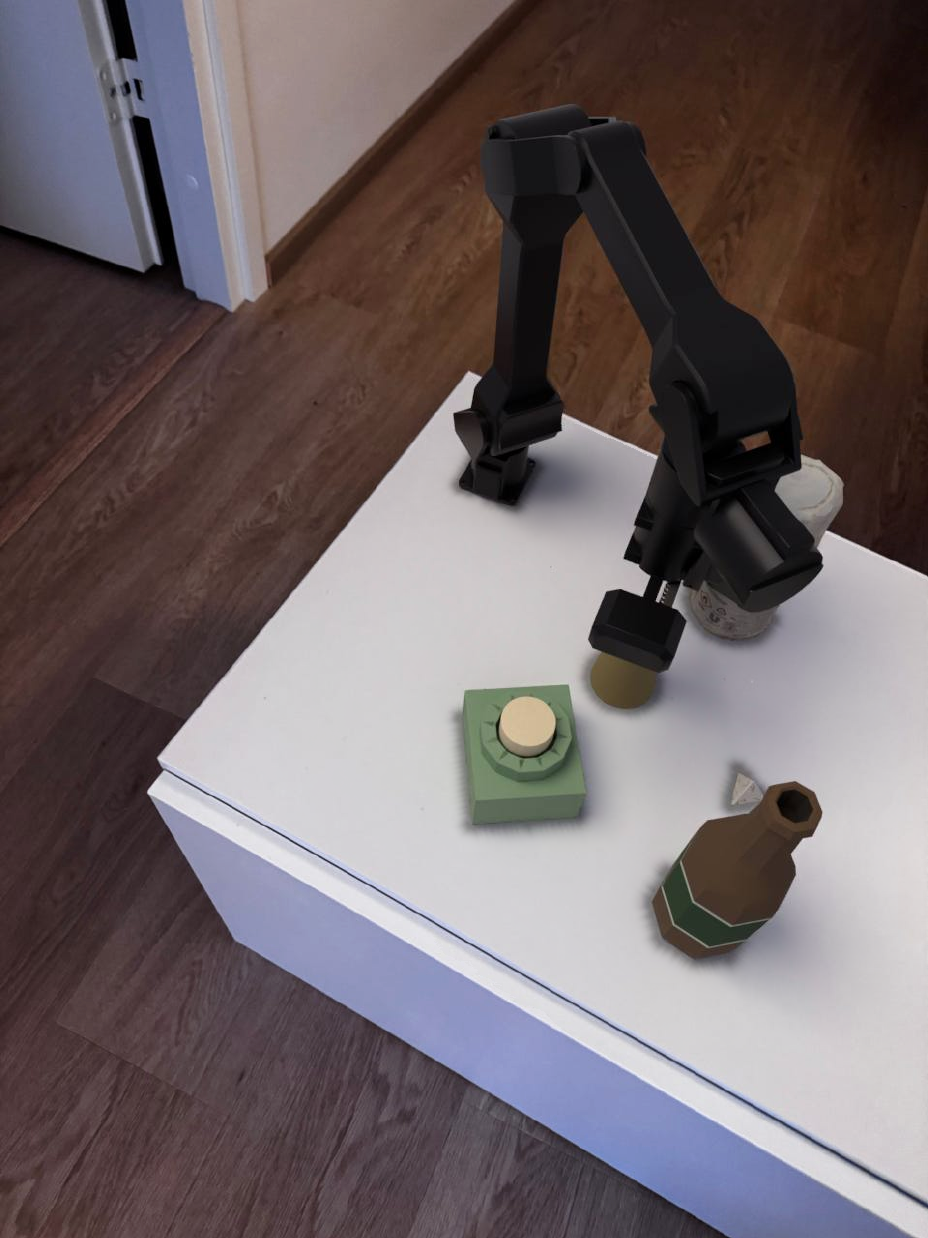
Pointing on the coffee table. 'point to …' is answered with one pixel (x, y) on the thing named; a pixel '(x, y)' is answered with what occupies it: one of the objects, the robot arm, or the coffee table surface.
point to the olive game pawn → (621, 682)
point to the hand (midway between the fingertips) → (643, 615)
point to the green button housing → (521, 760)
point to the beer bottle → (735, 873)
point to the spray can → (813, 504)
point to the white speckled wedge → (746, 791)
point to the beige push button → (527, 726)
